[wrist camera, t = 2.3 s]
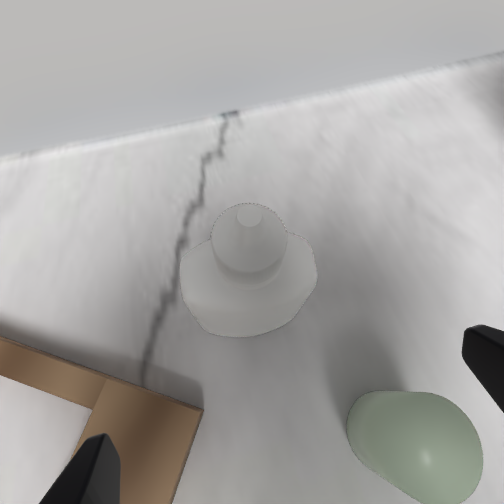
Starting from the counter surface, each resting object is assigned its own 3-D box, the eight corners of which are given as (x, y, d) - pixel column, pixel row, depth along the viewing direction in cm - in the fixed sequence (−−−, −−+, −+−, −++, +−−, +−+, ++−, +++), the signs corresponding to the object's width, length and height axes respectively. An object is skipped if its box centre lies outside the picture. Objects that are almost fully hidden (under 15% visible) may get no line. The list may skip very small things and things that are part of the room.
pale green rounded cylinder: (426, 404, 19) (486, 411, 14) (416, 486, 17) (479, 524, 13) (355, 380, 19) (390, 379, 14) (339, 458, 18) (373, 485, 13)
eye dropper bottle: (217, 260, 22) (187, 126, 10) (302, 290, 21) (367, 181, 10) (190, 326, 20) (118, 252, 9) (280, 360, 19) (327, 327, 8)
